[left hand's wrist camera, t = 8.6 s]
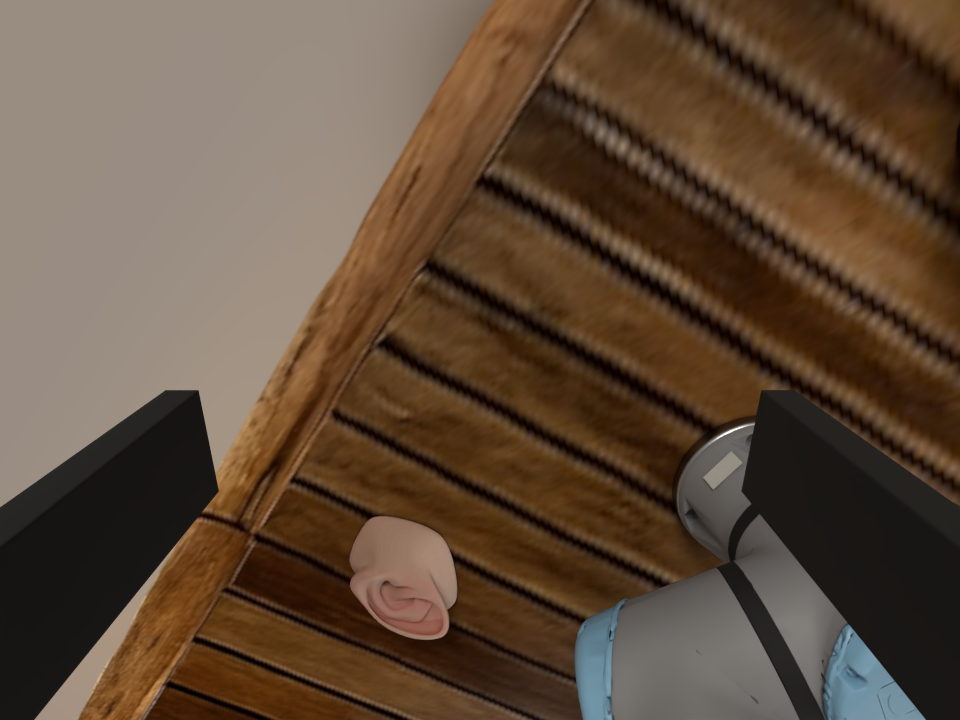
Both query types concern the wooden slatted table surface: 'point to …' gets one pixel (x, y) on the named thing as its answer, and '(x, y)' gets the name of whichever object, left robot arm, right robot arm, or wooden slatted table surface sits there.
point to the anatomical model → (404, 576)
